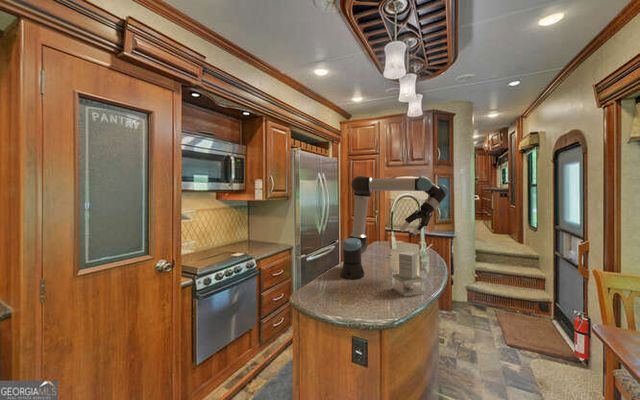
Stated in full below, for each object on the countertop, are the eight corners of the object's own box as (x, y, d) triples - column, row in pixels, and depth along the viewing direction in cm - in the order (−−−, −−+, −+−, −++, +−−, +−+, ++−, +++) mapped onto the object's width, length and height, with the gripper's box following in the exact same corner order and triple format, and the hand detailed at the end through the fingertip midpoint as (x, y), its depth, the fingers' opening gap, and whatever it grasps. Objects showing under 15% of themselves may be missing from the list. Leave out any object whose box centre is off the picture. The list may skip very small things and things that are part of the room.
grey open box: (404, 296, 139) (404, 280, 139) (392, 288, 151) (392, 273, 150) (424, 294, 142) (424, 278, 142) (411, 286, 154) (411, 271, 153)
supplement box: (404, 273, 151) (403, 250, 151) (417, 275, 147) (417, 252, 146) (398, 276, 145) (398, 253, 145) (412, 279, 141) (412, 255, 140)
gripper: (447, 211, 153) (424, 239, 150) (420, 208, 177) (400, 233, 174) (439, 202, 151) (415, 230, 148) (413, 201, 175) (392, 225, 172)
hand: (407, 232), depth 161 cm, fingers open, 13 cm apart
